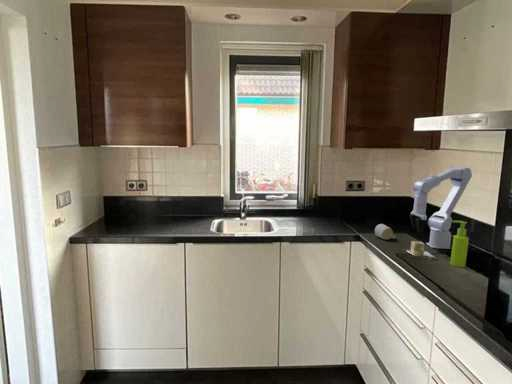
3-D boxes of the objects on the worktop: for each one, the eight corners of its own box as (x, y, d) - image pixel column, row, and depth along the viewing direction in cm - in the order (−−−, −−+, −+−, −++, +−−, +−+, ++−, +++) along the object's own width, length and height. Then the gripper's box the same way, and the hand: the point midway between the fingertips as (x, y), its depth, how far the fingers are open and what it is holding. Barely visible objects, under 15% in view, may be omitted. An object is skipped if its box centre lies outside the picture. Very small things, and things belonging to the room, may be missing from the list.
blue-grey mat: (427, 251, 170) (427, 251, 170) (437, 259, 158) (437, 259, 158) (398, 250, 171) (398, 249, 171) (406, 257, 159) (406, 257, 159)
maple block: (419, 253, 167) (420, 241, 166) (423, 256, 162) (424, 244, 161) (410, 252, 167) (411, 241, 166) (413, 255, 163) (414, 243, 162)
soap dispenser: (448, 261, 157) (454, 219, 154) (466, 264, 153) (471, 221, 150) (446, 264, 153) (451, 221, 150) (464, 268, 148) (469, 223, 145)
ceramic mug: (381, 240, 187) (383, 227, 186) (373, 236, 195) (375, 223, 194) (398, 240, 190) (400, 227, 189) (389, 236, 198) (391, 223, 196)
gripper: (407, 201, 179) (404, 226, 181) (417, 206, 165) (414, 233, 167) (420, 202, 179) (418, 227, 181) (432, 207, 165) (429, 234, 166)
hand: (417, 230), depth 174 cm, fingers open, 7 cm apart
